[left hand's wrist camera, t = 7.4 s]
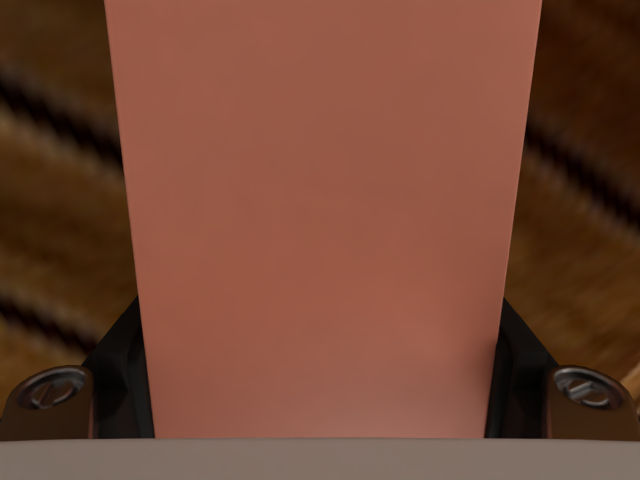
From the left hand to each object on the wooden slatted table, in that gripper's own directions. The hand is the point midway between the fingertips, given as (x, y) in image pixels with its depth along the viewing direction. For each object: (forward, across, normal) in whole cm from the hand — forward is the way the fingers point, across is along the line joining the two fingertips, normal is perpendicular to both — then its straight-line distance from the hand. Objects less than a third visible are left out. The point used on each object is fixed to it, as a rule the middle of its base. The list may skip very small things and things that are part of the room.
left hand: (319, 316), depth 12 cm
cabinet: (+6, 0, -5) cm, 8 cm away
